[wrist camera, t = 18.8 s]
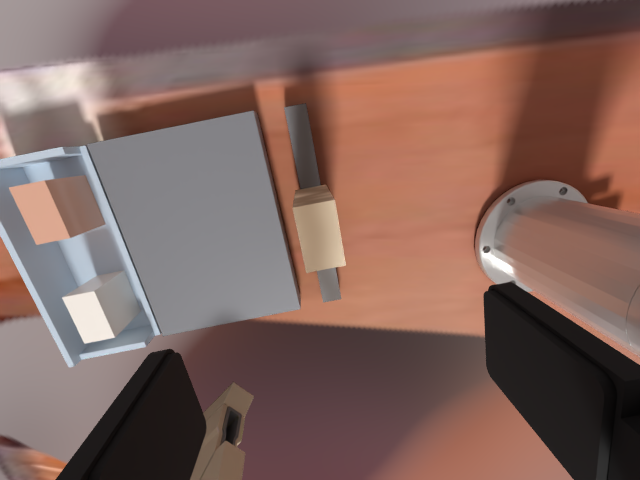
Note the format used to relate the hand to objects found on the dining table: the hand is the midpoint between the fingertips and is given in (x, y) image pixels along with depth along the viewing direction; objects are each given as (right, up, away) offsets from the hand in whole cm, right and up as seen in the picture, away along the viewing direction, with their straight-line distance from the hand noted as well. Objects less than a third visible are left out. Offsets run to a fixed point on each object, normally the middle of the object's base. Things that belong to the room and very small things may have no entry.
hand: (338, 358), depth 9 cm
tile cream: (-21, -3, +22) cm, 30 cm away
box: (-24, +3, +23) cm, 33 cm away
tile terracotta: (-23, +7, +19) cm, 30 cm away
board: (-12, +5, +23) cm, 27 cm away
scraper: (-1, +7, +24) cm, 25 cm away
